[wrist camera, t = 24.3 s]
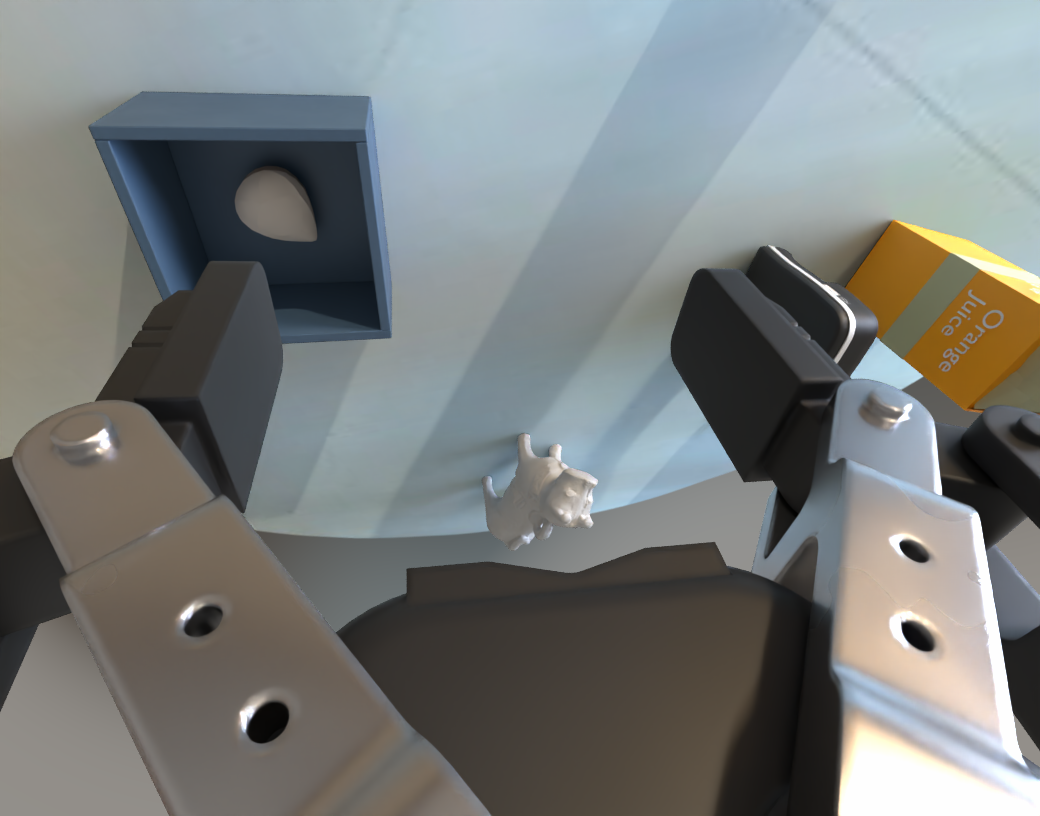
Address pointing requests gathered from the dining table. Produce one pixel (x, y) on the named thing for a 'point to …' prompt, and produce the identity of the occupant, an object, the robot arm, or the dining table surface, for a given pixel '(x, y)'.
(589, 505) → the dog figurine
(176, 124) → the blue open box
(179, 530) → the robot arm
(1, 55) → the dining table surface
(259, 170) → the cream rounded dome
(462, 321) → the dining table surface
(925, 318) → the orange juice
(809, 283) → the battery charger
